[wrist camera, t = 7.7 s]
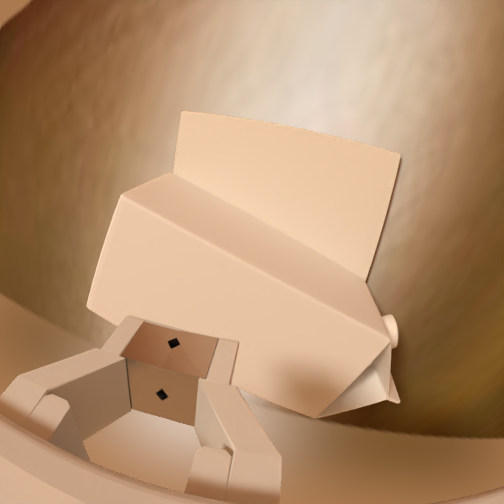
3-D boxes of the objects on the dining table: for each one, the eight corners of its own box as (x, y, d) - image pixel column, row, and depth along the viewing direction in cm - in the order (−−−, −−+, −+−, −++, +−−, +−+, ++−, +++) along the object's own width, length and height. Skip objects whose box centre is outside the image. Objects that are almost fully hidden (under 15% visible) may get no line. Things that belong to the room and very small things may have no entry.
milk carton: (132, 258, 23) (349, 367, 25) (82, 306, 16) (362, 435, 18) (168, 170, 20) (405, 302, 22) (117, 192, 14) (439, 363, 15)
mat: (398, 153, 19) (401, 154, 18) (347, 325, 24) (348, 328, 23) (183, 110, 19) (181, 110, 19) (165, 290, 24) (163, 293, 24)
